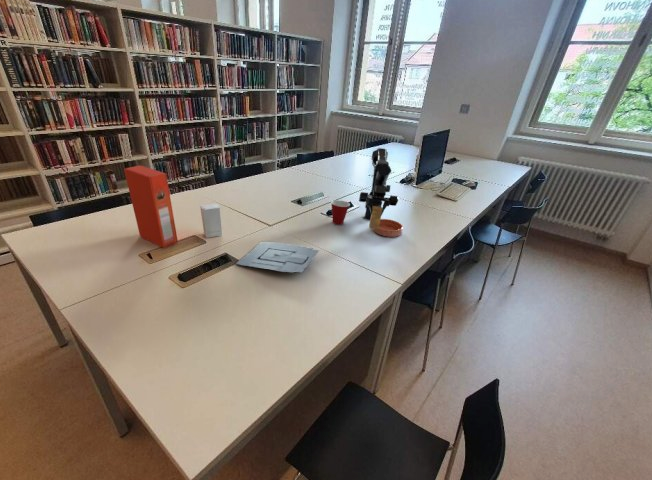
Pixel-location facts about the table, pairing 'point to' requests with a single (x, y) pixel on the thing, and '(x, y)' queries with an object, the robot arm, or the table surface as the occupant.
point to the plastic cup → (339, 211)
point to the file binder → (152, 205)
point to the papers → (279, 257)
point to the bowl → (389, 228)
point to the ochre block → (375, 217)
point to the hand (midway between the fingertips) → (376, 214)
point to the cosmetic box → (211, 220)
